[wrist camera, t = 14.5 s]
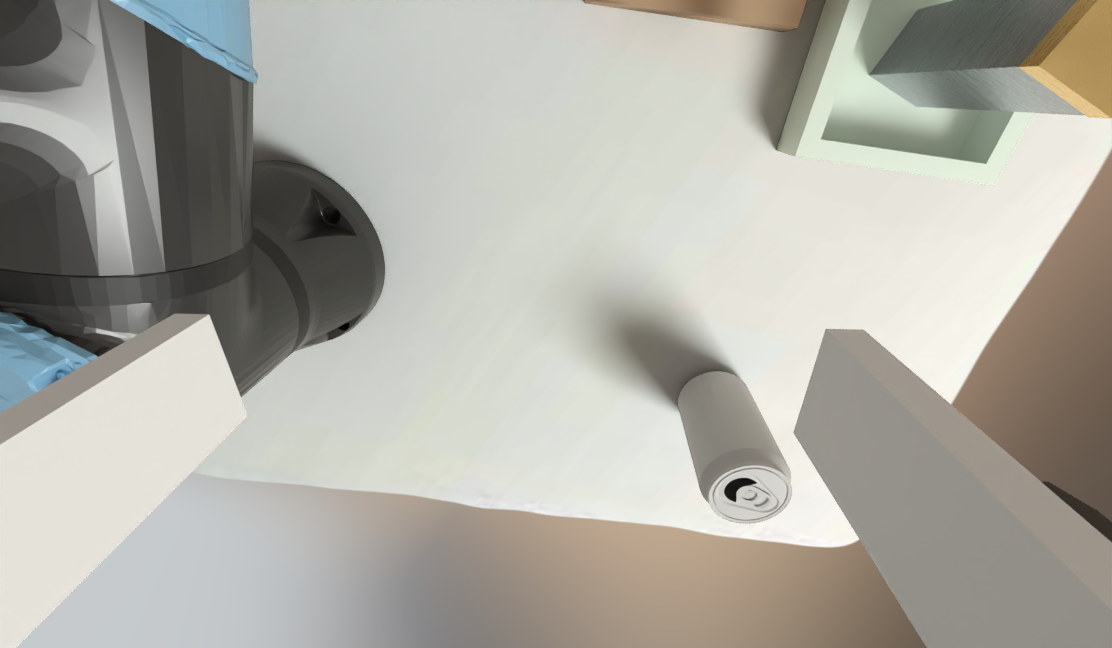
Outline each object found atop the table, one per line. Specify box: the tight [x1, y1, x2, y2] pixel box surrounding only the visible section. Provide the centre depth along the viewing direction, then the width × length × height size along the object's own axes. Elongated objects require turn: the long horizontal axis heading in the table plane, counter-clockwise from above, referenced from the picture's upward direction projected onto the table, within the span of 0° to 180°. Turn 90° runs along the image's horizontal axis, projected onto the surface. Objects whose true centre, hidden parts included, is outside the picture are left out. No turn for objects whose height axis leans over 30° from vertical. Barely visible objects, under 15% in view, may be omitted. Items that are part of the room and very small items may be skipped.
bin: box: [776, 0, 1035, 186], centre depth 28 cm, size 13×13×4 cm
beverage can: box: [678, 371, 792, 523], centre depth 38 cm, size 6×6×12 cm
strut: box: [869, 0, 1112, 118], centre depth 24 cm, size 4×4×13 cm
